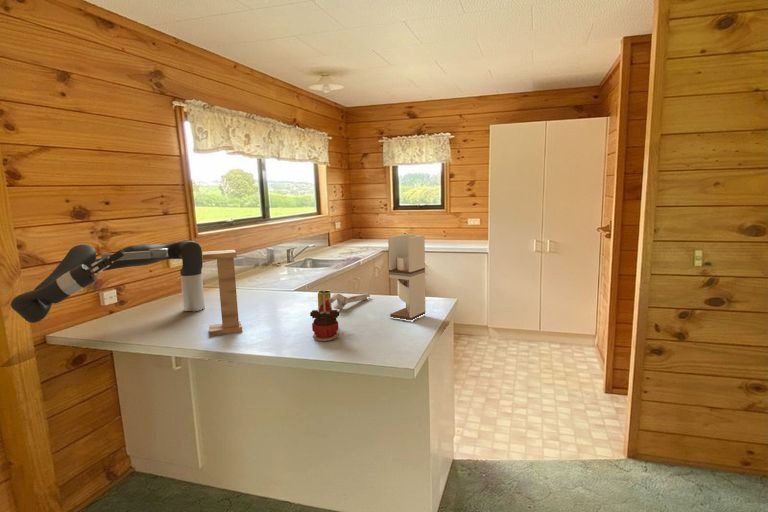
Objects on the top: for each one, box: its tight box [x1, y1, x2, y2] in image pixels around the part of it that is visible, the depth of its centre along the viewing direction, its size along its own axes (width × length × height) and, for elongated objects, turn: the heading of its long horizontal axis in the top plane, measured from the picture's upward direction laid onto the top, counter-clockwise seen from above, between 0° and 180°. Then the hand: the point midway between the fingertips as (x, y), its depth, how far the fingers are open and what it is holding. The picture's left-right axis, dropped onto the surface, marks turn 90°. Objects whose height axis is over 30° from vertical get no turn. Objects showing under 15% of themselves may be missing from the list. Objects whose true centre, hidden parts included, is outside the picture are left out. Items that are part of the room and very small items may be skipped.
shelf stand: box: [202, 249, 243, 337], centre depth 171 cm, size 9×12×32 cm
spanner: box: [101, 248, 168, 261], centre depth 158 cm, size 6×21×3 cm, turn 113°
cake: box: [309, 291, 340, 342], centre depth 161 cm, size 11×9×18 cm
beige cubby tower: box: [387, 233, 426, 320], centre depth 183 cm, size 11×11×35 cm
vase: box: [317, 289, 333, 311], centre depth 176 cm, size 6×6×14 cm
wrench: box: [332, 293, 371, 311], centre depth 208 cm, size 8×2×30 cm
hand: (122, 252), depth 156 cm, fingers closed on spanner, 3 cm apart
